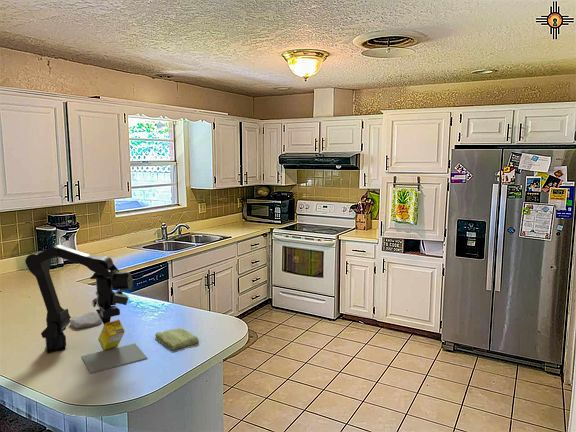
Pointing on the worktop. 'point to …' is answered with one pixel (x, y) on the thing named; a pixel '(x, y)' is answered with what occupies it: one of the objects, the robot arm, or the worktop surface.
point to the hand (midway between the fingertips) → (106, 327)
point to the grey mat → (113, 358)
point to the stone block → (85, 320)
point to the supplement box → (111, 335)
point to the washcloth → (176, 338)
